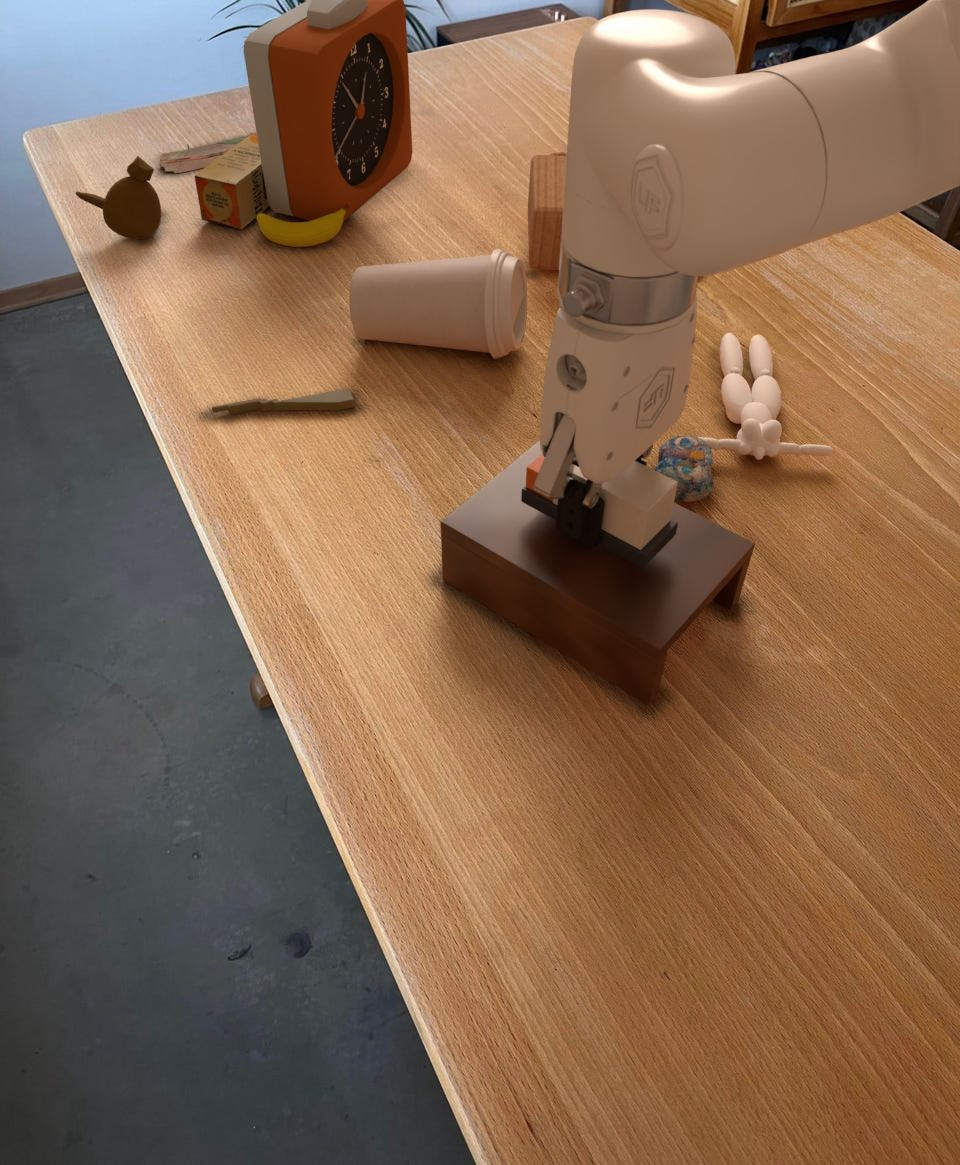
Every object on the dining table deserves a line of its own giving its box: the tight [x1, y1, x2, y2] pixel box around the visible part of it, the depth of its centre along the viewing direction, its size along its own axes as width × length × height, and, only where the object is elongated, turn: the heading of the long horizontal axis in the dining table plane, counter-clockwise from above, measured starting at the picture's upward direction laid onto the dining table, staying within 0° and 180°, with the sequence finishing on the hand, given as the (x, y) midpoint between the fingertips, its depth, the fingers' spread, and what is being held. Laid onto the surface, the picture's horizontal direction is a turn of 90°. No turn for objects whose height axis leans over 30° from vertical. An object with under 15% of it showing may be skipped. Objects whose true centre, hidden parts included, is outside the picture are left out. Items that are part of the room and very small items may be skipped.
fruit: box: [255, 204, 350, 248], centre depth 106 cm, size 10×2×5 cm
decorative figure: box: [697, 332, 835, 461], centre depth 87 cm, size 4×12×18 cm
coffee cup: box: [348, 248, 528, 359], centre depth 92 cm, size 10×10×15 cm
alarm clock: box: [243, 0, 413, 224], centre depth 107 cm, size 18×9×21 cm, turn 154°
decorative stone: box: [654, 434, 715, 503], centre depth 80 cm, size 6×4×5 cm
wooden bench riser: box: [439, 439, 756, 707], centre depth 71 cm, size 18×12×6 cm, turn 51°
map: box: [159, 136, 247, 174], centre depth 122 cm, size 5×20×1 cm, turn 121°
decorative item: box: [527, 151, 567, 271], centre depth 107 cm, size 7×7×20 cm
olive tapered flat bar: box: [211, 388, 356, 415], centre depth 87 cm, size 12×2×1 cm, turn 98°
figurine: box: [75, 155, 162, 240], centre depth 106 cm, size 8×8×6 cm
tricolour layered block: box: [521, 454, 678, 568], centre depth 66 cm, size 10×4×5 cm, turn 51°
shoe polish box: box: [194, 133, 270, 230], centre depth 111 cm, size 5×5×12 cm
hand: (598, 515), depth 67 cm, fingers closed on tricolour layered block, 4 cm apart
